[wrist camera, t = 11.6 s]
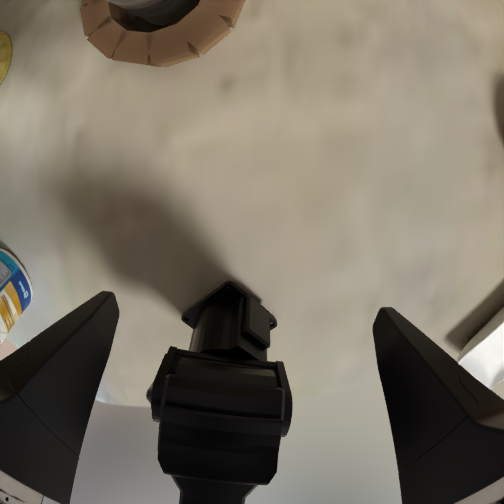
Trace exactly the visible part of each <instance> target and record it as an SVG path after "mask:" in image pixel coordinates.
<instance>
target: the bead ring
mask: <svg viewBox="0 0 504 504" xmlns="http://www.w3.org/2000/svg"><path fill="white" fill-rule="evenodd" d="M244 2H245V0H200V2H199V4H198V6H197V7H196V8H194V9H193V10H192V11H191V12H190V13H188V14H187V15H186V16H185V17H184V18H183V19H182V20H180V21H179V22H178V23H177V24H175V25H172V26H168V27H166V28H163V29H160V30H157V31H154V32H151V33H147V32H137V31H136V30H135V29H134V28H133V27H131V26H130V23H129V18H128V14H127V10H125V9H123V8H121V7H119V6H117V5H115V4H113V3H110V2H108V1H106V0H82V3H81V4H82V5H85V6H84V7H83V8H81V15H82V22H83V27H84V33H85V36H88V37H89V38H88V39H87V40H88V41H89V42H90V43H91V44H93V45H94V46H95V47H96V48H97V49H98V50H99V51H100V52H101V53H103V54H104V55H105V56H106V57H107V58H110V59H112V60H116V61H124V62H131V63H138V64H145V65H151V66H157V67H161V66H165V67H167V66H170V65H173V64H177V63H180V62H183V61H187V60H190V59H193V58H197V57H199V53H198V50H199V51H200V52H202V53H203V54H205V53H206V52H207V51H209V50H210V49H211V48H212V47H213V46H214V45H216V44H217V43H218V42H219V41H220V40H222V39H223V38H224V37H225V36H227V35H228V34H229V33H230V32H231V31H230V29H229V27H233V28H234V27H235V24H236V22H237V19H238V17H239V14H240V12H241V9H242V7H243V5H244ZM228 26H229V27H228Z"/></svg>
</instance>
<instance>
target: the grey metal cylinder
mask: <svg viewBox="0 0 504 504" xmlns="http://www.w3.org/2000/svg"><path fill="white" fill-rule="evenodd" d="M106 1H108V2H110V3H113V4H115V5H117V6H119V7H121V8H123V9H125V10H127V11H129V12H131V13H133V14H135V15H137V16H139V17H141V18H143V19H145V20H147V21H148V22H150V23H152V24H155V25H161V26H165V25H172V24H175V23H178V22H179V21H180V20H182V19H183V18H184V17H185V16H186V15H187V14H188V13H190V12H191V11H192V10H193V9H194V8H195V7H196V5H197V2H198V0H106Z"/></svg>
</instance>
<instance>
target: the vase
mask: <svg viewBox="0 0 504 504" xmlns="http://www.w3.org/2000/svg"><path fill="white" fill-rule="evenodd" d="M11 53H12V46H11V41H10V38H9V36H8V35H7V34H6V33H4V32H0V84H1V82H2V81H3V79H4V77H5V75H6V73H7V71H8V68H9V65H10V61H11Z"/></svg>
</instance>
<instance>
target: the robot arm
mask: <svg viewBox="0 0 504 504" xmlns="http://www.w3.org/2000/svg"><path fill="white" fill-rule="evenodd" d="M227 287H231V289H229V288H227ZM186 317H188V318H186ZM118 319H119V308H118V304H117V301H116V297H115V294H114V293H113V292H109V291H102V292H100V293H99V294H97V295H95V296H94V297H92V298H91V299H89V300H88V301H86V302H85V303H83V304H82V305H81V306H79V307H78V308H76V309H75V310H73V311H72V312H70V313H69V314H67V315H66V316H64V317H63V318H61V319H60V320H59V321H57V322H56V323H54V324H53V325H51V326H50V327H48V328H47V329H46V330H44V331H43V332H41V333H40V334H39V335H37V336H36V337H34V338H33V339H32V340H30V342H27V343H26V344H25V345H23V346H22V347H20V348H19V349H17V350H16V351H15V352H13V353H12V354H10V355H9V356H7V357H6V358H4V359H3V360H1V361H0V504H42V501H43V497H44V496H45V497H47V498H49V499H52V500H54V501H56V502H58V503H60V504H69V503H70V498H71V492H72V488H73V483H74V477H75V473H76V469H77V464H78V460H79V454H80V451H81V447H82V443H83V439H84V435H85V431H86V428H87V424H88V421H89V417H90V414H91V410H92V407H93V404H94V400H95V397H96V394H97V391H98V387H99V384H100V381H101V378H102V375H103V372H104V369H105V366H106V363H107V361H108V358H109V354H110V351H111V347H112V343H113V339H114V334H115V330H116V326H117V323H118ZM181 319H182V321H183V322H185V323H186V324H187V325H189V326H190V327H191V328H193V333H192V338H191V342H190V347H189V351H187V350H182V349H177V347H172V346H170V348H169V350H168V353H167V354H165V356H164V358H163V360H162V363H161V365H160V368H159V370H158V372H157V375H156V377H155V380H154V382H153V383H152V385H151V386H150V388H149V389H148V391H147V395H146V397H147V399H148V401H149V402H150V403H151V409H152V419H153V421H156V422H160V424H159V436H158V461H159V463H160V466H161V468H162V470H163V472H164V473H165V474H168V475H171V476H172V478H173V480H174V481H175V483H176V485H177V486H178V488H179V490H180V501H179V504H244V503H245V498H246V497H247V496H248V495H249V494H250V493H251V492H252V491H253V490H254V489H255V488H256V487H257V485H267V484H269V482H270V481H271V480H272V478H273V477H274V475H275V474H276V472H277V462H278V452H279V446H280V440H281V437H285V436H286V435H287V433H288V430H289V428H290V423H291V418H292V395H291V390H290V386H289V383H288V379H287V375H286V371H285V367H284V363H283V362H282V361H276V362H269V361H267V348H269V347H270V330H272V329H274V328H275V327H276V326H277V320H276V319H275V318H274V317H273V316H271V315H270V314H269V311H268V310H266V309H265V308H264V307H263V306H262V305H261V304H259V303H258V302H257V301H256V300H255V299H254V298H253V297H251V296H249V295H247V294H246V293H245V292H244V291H242V290H241V289H240V288H239V287H238V286H237V285H236V284H234V283H233V282H230V281H229V282H226V283H224V284H223V285H221V286H220V287H219V288H217V289H216V290H215V291H213V292H212V293H210V294H209V295H208V296H206V297H205V298H204V299H202V300H201V301H200V302H198V303H197V304H195V305H194V306H193V307H191V308H190V309H189V310H187V311H186V312H184V313H183V314H182V318H181ZM270 323H272V324H270ZM373 337H374V343H375V350H376V358H377V365H378V370H379V375H380V379H381V383H382V387H383V392H384V396H385V401H386V405H387V410H388V415H389V420H390V425H391V431H392V436H393V441H394V447H395V453H396V459H397V466H398V471H399V473H398V474H399V481H400V489H401V498H402V504H504V400H503V399H502V398H501V397H499V396H498V395H497V394H495V393H494V392H493V391H492V390H490V389H489V388H488V387H486V386H485V385H484V384H482V383H481V382H480V381H479V380H477V379H476V378H475V377H474V376H473V375H471V374H470V373H469V372H468V371H467V370H466V369H464V368H463V367H462V366H461V365H459V364H458V362H456V361H455V360H454V359H453V358H452V357H451V356H450V355H448V354H447V353H446V352H445V351H444V350H443V349H441V348H440V347H439V346H438V345H437V344H436V343H434V342H433V341H432V340H431V339H430V338H429V337H427V336H426V335H425V334H424V333H423V332H421V331H420V330H419V329H418V328H417V327H415V326H414V325H413V324H412V323H411V322H409V321H408V320H407V319H406V318H405V317H403V316H402V315H401V314H400V313H398V312H397V311H396V310H395V309H394V308H392V307H382V308H380V310H379V312H378V314H377V316H376V319H375V321H374V324H373Z"/></svg>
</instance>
